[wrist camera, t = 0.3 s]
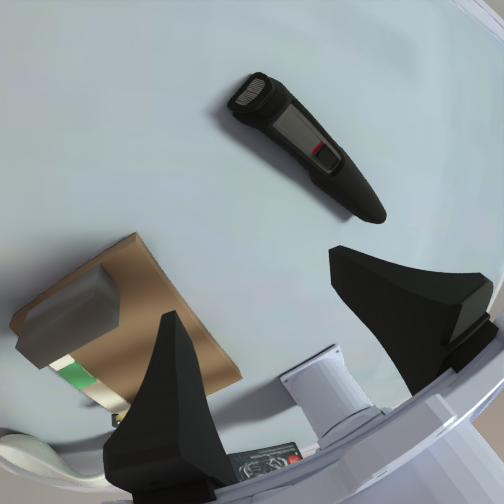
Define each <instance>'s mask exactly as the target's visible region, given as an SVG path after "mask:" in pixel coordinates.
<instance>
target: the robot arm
mask: <svg viewBox="0 0 504 504" xmlns="http://www.w3.org/2000/svg"><path fill="white" fill-rule="evenodd" d="M329 262H330V275H331V285H332V286H333V288H334V289H335V291H336V292H337V294H338V295H339V296H340V298H341V299H342V300H343V302H344V303H345V304H346V305H347V306H348V307H349V308H350V309H351V310H352V311H353V312H354V313H355V315H356V316H357V317H358V318H359V319H360V320H361V321H362V322H363V323H364V324H365V325H366V326H367V327H368V328H369V329H370V331H371V332H372V333H373V334H374V335H375V337H376V338H377V339H378V341H379V342H380V344H381V345H382V346H383V348H384V349H385V351H386V352H387V354H388V355H389V357H390V358H391V360H392V361H393V363H394V364H395V366H396V368H397V369H398V371H399V373H400V374H401V376H402V378H403V379H404V381H405V383H406V385H407V387H408V389H409V391H410V393H411V395H412V397H411V398H410V399H409V400H407V401H406V402H404V403H403V404H401V405H400V406H398V407H397V408H395V409H394V410H393V409H391V408H386V407H383V408H381V409H380V410H379V408H378V407H377V406H376V405H374V406H373V404H372V403H371V402H370V400H369V399H368V398H367V396H366V395H365V393H364V392H363V391H362V389H361V388H360V387H359V385H358V384H357V383H356V381H355V380H354V379H353V377H352V376H351V374H350V373H349V372H348V370H347V369H346V367H345V363H344V359H343V356H342V352H341V348H340V346H339V345H338V344H337V345H334V346H333V347H331V348H329V349H328V350H326V351H324V352H323V353H321V354H319V355H318V356H316V357H314V358H313V359H311V360H309V361H308V362H306V363H304V364H302V365H301V366H299V367H297V368H295V369H294V370H292V371H290V372H288V373H286V374H285V375H283V376H281V377H280V380H281V382H282V383H283V385H284V386H285V388H286V389H287V390H288V392H289V393H290V395H291V396H292V397H293V399H294V400H295V402H296V403H297V404H298V406H299V407H301V408H302V410H303V412H304V414H305V416H306V417H307V419H308V421H309V423H310V425H311V426H312V428H313V430H314V432H315V433H316V435H317V437H318V439H319V440H318V441H317V442H318V444H319V446H320V448H318V449H317V450H316V453H315V454H313V455H310V456H308V457H306V458H304V459H302V460H299V461H297V462H295V463H292V464H290V465H287V466H285V467H282V468H280V469H277V470H275V471H272V472H269V473H267V474H264V475H261V476H258V477H255V478H252V479H249V480H246V481H243V482H240V483H239V481H238V479H237V477H236V475H235V473H234V471H233V469H232V467H231V464H230V462H229V460H228V458H227V455H226V453H225V450H224V448H223V446H222V443H221V441H220V438H219V436H218V433H217V430H216V428H215V425H214V422H213V419H212V417H211V414H210V411H209V407H208V404H207V400H206V395H205V390H204V386H203V381H202V376H201V371H200V367H199V362H198V358H197V355H196V352H195V349H194V346H193V343H192V340H191V338H190V336H189V335H188V333H187V331H186V329H185V327H184V325H183V323H182V321H181V320H180V318H179V316H178V314H177V312H176V310H173V311H170V312H167V313H165V314H162V316H161V319H160V324H159V329H158V333H157V337H156V341H155V345H154V349H153V352H152V356H151V359H150V362H149V365H148V368H147V371H146V374H145V376H144V379H143V381H142V384H141V386H140V388H139V391H138V393H137V395H136V397H135V399H134V401H133V403H132V405H131V407H130V408H129V410H128V412H127V413H126V415H125V417H124V418H123V420H122V421H121V423H120V424H119V426H118V427H117V429H116V430H115V431H114V433H113V434H112V435H111V437H110V438H109V439H108V440H107V442H106V443H105V444H104V445H103V463H104V473H105V479H106V480H107V481H108V482H109V483H110V484H112V485H114V486H116V487H118V488H120V489H122V490H125V491H127V492H129V493H131V494H132V497H133V501H132V500H118V501H105V502H101V504H504V463H503V462H502V461H501V460H500V458H499V457H498V456H497V454H496V453H495V452H494V451H493V450H492V448H491V447H490V446H489V445H488V443H487V442H486V441H485V440H484V439H483V437H482V436H481V435H480V434H479V433H478V431H477V430H476V429H475V428H474V427H473V425H472V424H471V422H472V421H473V420H474V419H475V418H476V417H477V416H478V415H479V414H480V413H481V412H482V411H483V410H484V409H485V408H486V407H487V406H488V405H489V404H490V403H491V401H492V400H493V399H494V398H495V397H496V396H497V395H498V394H499V392H500V391H501V390H502V389H503V388H504V310H503V311H502V312H501V314H499V316H498V317H497V318H496V319H495V320H494V322H493V323H492V322H491V321H490V320H489V319H490V315H489V314H488V313H487V312H486V310H487V307H488V304H489V302H490V299H491V296H492V293H493V282H492V281H490V280H489V279H488V278H486V277H485V276H484V275H482V274H481V273H443V272H433V271H426V270H420V269H415V268H410V267H406V266H402V265H398V264H395V263H391V262H388V261H385V260H381V259H379V258H376V257H373V256H370V255H367V254H364V253H361V252H359V251H356V250H353V249H350V248H347V247H344V246H341V245H339V246H337V247H334V248H332V249H329ZM294 484H295V485H294ZM292 485H293V486H292Z"/></svg>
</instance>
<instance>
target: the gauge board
mask: <svg viewBox="0 0 504 504" xmlns="http://www.w3.org/2000/svg"><path fill="white" fill-rule="evenodd" d="M173 310H176V312H177V314H178V316H179V318H180V320H181V321H182V323H183V325H184V327H185V329H186V331H187V333H188V335H189V336H190V338H191V340H192V343H193V346H194V349H195V352H196V355H197V358H198V362H199V367H200V371H201V376H202V381H203V386H204V390H205V395H206V396H208V395H210V394H212V393H214V392H216V391H219V390H221V389H223V388H225V387H227V386H229V385H231V384H233V383H235V382H237V381H239V380H241V379H243V378H242V376H241V373H240V371H239V368H238V367H237V366H236V365H235V363H234V362H233V361H232V360H231V359H230V357H229V356H228V355H227V354H226V353H225V351H224V350H223V349H222V348H221V346H220V345H219V344H218V343H217V342H216V340H215V339H214V338H213V337H212V335H211V334H210V333H209V332H208V330H207V329H206V328H205V326H204V325H203V324H202V323H201V321H200V320H199V319H198V317H197V316H196V315H195V314H194V312H193V311H192V310H191V308H190V307H189V306H188V304H187V303H186V302H185V300H184V299H183V298H182V296H181V295H180V294H179V292H178V291H177V289H176V288H175V287H174V285H173V284H172V283H171V281H170V280H169V278H168V277H167V276H166V274H165V273H164V271H163V270H162V269H161V267H160V266H159V264H158V263H157V262H156V260H155V259H154V257H153V256H152V254H151V253H150V251H149V250H148V248H147V247H146V246H145V244H144V243H143V241H142V240H141V238H140V237H139V235H138V234H137V232H135V233H134V234H132V235H130V236H129V237H127V238H126V239H124V240H122V241H121V242H119V243H117V244H116V245H114V246H113V247H111V248H109V249H108V250H106V251H105V252H103V253H102V254H100V255H98V256H97V257H95V258H94V259H92V260H91V261H89V262H88V263H86V264H85V265H83V266H82V267H80V268H79V269H77V270H76V271H74V272H73V273H71V274H70V275H68V276H67V277H65V278H64V279H62V280H61V281H59V282H58V283H57V284H55V285H54V286H52V287H51V288H49V289H48V290H47V291H45V292H44V293H42V294H41V295H40V296H38V297H37V298H35V299H34V300H33V301H31V302H30V303H29V304H27V305H26V306H25V307H23V308H22V309H21V310H19V311H18V312H17V313H15V314H14V315H13V317H12V320H11V322H10V324H9V327H10V328H11V329H12V330H13V331H14V332H15V333H16V334H17V335H18V336H19V338H18V341H17V344H16V347H15V348H16V349H17V350H18V351H19V352H20V353H21V354H22V355H23V356H24V357H26V358H27V359H28V360H29V361H30V362H31V363H32V364H34V365H35V366H36V367H37V368H38V369H39V370H40V369H42V368H44V367H46V366H48V365H50V366H51V367H52V368H53V369H54V370H56V371H57V373H58V374H59V375H61V376H62V377H63V378H64V379H66V380H67V381H68V382H69V383H71V384H72V385H73V386H75V387H76V388H77V389H79V390H81V391H82V392H84V393H85V394H87V395H88V396H89V397H91V398H92V399H94V400H95V401H96V402H98V403H99V404H101V405H102V406H104V407H105V408H107V409H108V410H110V411H111V412H113V413H114V414H119V415H120V414H122V413H125V412H127V411H128V410H129V408H130V407H131V405H132V401H133V400H134V399H135V397H136V395H137V393H138V391H139V388H140V386H141V384H142V381H143V379H144V376H145V374H146V371H147V368H148V365H149V362H150V359H151V356H152V352H153V349H154V345H155V341H156V337H157V333H158V329H159V324H160V319H161V316H162V314H165V313H167V312H170V311H173Z"/></svg>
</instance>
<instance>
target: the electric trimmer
mask: <svg viewBox="0 0 504 504" xmlns="http://www.w3.org/2000/svg"><path fill="white" fill-rule="evenodd" d="M227 106H228V108H229V109H231V110H232V111H233V116H234V117H236V118H237V119H238V120H239V121H240V122H242V123H244V124H246V125H248V126H251V127H254V128H256V129H258V130H260V131H261V132H262V133H264V134H265V135H266V136H268V137H269V138H270V139H271V140H273V141H274V142H275V143H277V144H278V145H279V146H280V147H282V148H283V149H284V150H285V151H287V152H288V153H289V154H290V155H291V156H292V157H294V158H295V159H296V160H297V161H298V162H299V163H300V164H301V165H302V166H303V167H304V168H305V169H306V170H307V171H308V172H309V174H310V176H311V179H312V182H313V183H314V184H315V185H316V186H317V187H319V188H320V189H321V190H322V191H324V192H325V193H326V194H328V195H329V196H330V197H332V198H333V199H334V200H336V201H337V202H338V203H340V204H341V205H342V206H344V207H345V208H346V209H348V210H349V211H350V212H351V213H353V214H354V215H355V216H357V217H358V218H360V219H361V220H363V221H365V222H369V223H374V224H381V223H383V222H384V221H385V220H386V216H387V214H386V211H385V209H384V207H383V206H382V204H381V202H380V200H379V199H378V197H377V195H376V194H375V192H374V190H373V189H372V188H371V186H370V185H369V183H368V182H367V180H366V179H365V178H364V176H363V175H362V173H361V172H360V171H359V169H358V168H357V167H356V165H355V164H354V163H353V161H352V160H351V159H350V157H349V156H348V155H347V154H346V152H345V151H344V150H343V149H342V148H341V147H340V146H339V145H338V144H337V143H336V142H335V141H334V140H333V139H332V138H331V137H330V135H329V134H328V133H327V132H326V131H325V129H324V128H323V127H322V126H321V125H320V124H319V122H318V121H317V120H316V119H315V118H314V117H313V116H312V115H311V113H310V112H309V111H308V110H307V109H306V108H305V107H304V106H303V105H302V104H301V103H300V102H299V101H298V100H297V99H296V98H295V97H294V96H293V95H292V94H291V93H290V92H289V91H288V90H287V88H286V87H285V86H284V85H283V84H282V83H281V82H279V81H277V80H275V79H273V78H271V77H268V76H267V75H265V74H263V73H261V72H256V73H254V74H252V75H251V77H250V78H249V79H248V80H247V81H246V82H245V83H244V84H243V85H242V87H241V88H240V89H239V90H238V91H237V92H236V94H235V95H234V96H233V97H232V98H231V100H230V101H229V102H228V105H227ZM320 164H321V165H320Z"/></svg>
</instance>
